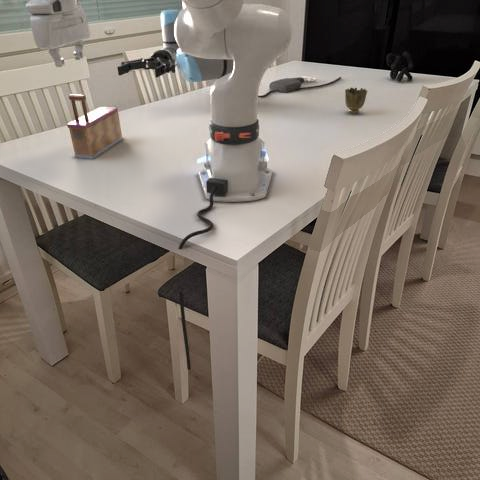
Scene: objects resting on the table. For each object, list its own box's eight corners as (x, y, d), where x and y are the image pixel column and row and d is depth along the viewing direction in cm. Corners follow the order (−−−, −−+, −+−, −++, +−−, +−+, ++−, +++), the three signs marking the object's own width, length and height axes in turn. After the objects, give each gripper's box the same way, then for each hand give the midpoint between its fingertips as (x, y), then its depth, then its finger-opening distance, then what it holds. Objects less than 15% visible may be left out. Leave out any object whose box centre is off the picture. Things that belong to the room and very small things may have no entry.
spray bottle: (266, 89, 189) (298, 79, 205) (288, 93, 183) (318, 83, 199) (266, 82, 188) (298, 73, 204) (288, 85, 182) (319, 76, 198)
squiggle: (400, 92, 202) (376, 71, 205) (417, 76, 202) (392, 56, 205) (405, 81, 191) (380, 59, 194) (423, 64, 191) (397, 42, 194)
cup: (340, 114, 157) (342, 91, 153) (346, 109, 163) (348, 86, 159) (361, 116, 154) (364, 93, 150) (366, 111, 160) (369, 88, 156)
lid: (85, 129, 121) (78, 98, 116) (67, 127, 122) (60, 97, 118) (118, 111, 135) (113, 83, 131) (101, 109, 136) (96, 82, 132)
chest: (92, 159, 126) (86, 128, 121) (75, 157, 127) (68, 127, 123) (122, 139, 140) (118, 111, 135) (106, 137, 141) (101, 110, 136)
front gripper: (68, -1, 117) (79, 55, 124) (20, 6, 100) (36, 70, 108) (90, -1, 116) (99, 55, 123) (45, 6, 99) (60, 71, 106)
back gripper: (196, 72, 164) (173, 85, 147) (134, 69, 170) (105, 81, 153) (194, 50, 160) (171, 61, 143) (131, 48, 166) (101, 58, 149)
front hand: (70, 62), depth 115 cm, fingers open, 8 cm apart
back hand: (137, 72), depth 148 cm, fingers open, 13 cm apart
